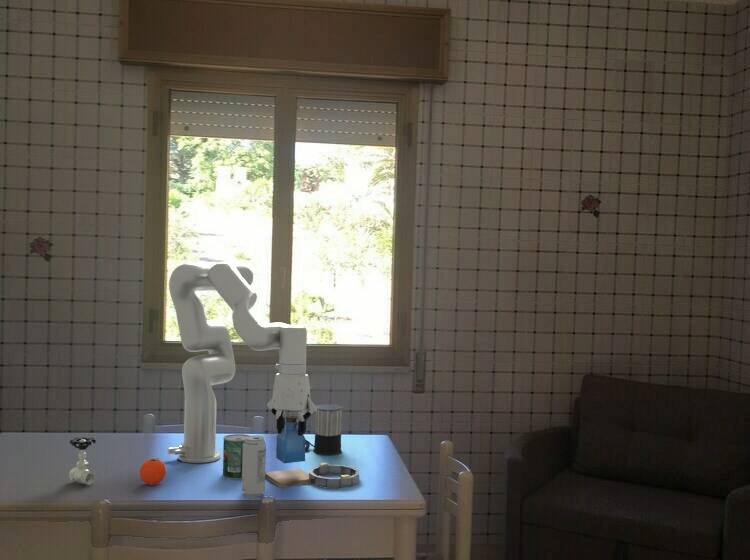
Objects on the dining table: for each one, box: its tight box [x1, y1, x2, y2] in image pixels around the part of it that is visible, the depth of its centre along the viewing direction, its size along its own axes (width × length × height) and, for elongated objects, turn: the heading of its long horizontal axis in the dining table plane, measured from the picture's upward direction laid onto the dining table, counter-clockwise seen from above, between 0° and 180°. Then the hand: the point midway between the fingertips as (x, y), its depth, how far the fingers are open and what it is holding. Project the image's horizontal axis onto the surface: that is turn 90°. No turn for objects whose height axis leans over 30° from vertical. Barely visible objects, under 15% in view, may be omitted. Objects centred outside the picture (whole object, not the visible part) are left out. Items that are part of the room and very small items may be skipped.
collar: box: [308, 462, 360, 489], centre depth 211 cm, size 14×14×3 cm
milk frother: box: [305, 403, 344, 456], centre depth 242 cm, size 14×16×15 cm
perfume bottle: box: [275, 415, 307, 464], centre depth 210 cm, size 6×6×12 cm
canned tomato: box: [222, 433, 250, 480], centre depth 213 cm, size 8×8×11 cm
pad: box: [265, 467, 312, 488], centre depth 211 cm, size 11×11×1 cm
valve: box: [68, 436, 97, 486], centre depth 201 cm, size 7×7×12 cm
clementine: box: [139, 457, 167, 486], centre depth 203 cm, size 8×7×7 cm
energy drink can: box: [241, 435, 267, 498], centre depth 196 cm, size 6×6×15 cm
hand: (291, 432), depth 210 cm, fingers closed on perfume bottle, 5 cm apart
